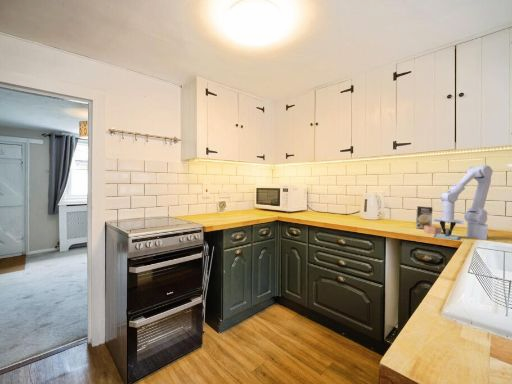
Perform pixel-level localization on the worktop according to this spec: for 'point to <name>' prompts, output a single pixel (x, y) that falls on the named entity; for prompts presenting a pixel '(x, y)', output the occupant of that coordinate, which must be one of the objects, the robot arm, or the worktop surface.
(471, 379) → the worktop surface
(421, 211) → the coffee box
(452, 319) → the worktop surface
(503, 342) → the worktop surface
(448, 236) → the lid
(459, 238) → the mat
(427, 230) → the bowl
